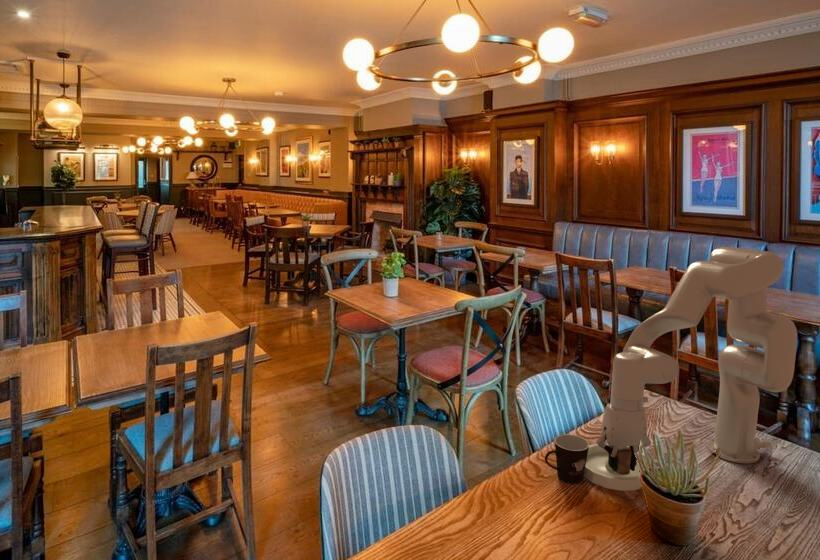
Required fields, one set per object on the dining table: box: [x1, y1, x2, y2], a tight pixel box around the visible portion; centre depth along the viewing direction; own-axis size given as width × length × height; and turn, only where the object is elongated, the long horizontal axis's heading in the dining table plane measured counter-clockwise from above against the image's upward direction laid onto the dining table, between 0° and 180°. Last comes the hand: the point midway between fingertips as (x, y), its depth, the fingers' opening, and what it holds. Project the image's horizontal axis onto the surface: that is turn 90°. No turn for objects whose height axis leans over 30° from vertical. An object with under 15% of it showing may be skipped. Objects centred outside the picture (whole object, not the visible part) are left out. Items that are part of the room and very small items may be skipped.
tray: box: [583, 443, 642, 492], centre depth 136 cm, size 18×18×3 cm
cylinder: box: [615, 446, 632, 475], centre depth 130 cm, size 4×4×6 cm
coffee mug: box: [544, 433, 590, 485], centre depth 133 cm, size 12×9×10 cm
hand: (621, 467), depth 131 cm, fingers closed on cylinder, 4 cm apart
